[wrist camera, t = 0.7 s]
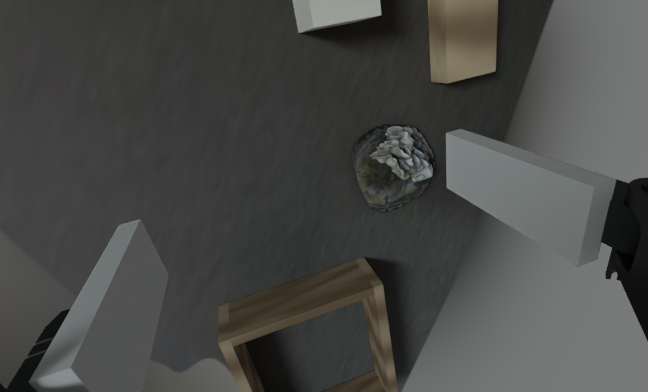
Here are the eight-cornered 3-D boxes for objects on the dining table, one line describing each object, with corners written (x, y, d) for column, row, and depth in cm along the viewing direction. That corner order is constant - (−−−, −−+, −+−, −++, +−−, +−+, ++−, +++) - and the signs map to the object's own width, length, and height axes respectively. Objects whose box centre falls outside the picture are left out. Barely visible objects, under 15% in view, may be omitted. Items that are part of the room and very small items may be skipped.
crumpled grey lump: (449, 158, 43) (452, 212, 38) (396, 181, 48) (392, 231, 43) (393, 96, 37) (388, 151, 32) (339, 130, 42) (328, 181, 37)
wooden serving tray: (218, 306, 41) (218, 343, 35) (363, 257, 44) (382, 284, 39) (267, 419, 51) (272, 461, 45) (382, 372, 54) (400, 406, 49)
